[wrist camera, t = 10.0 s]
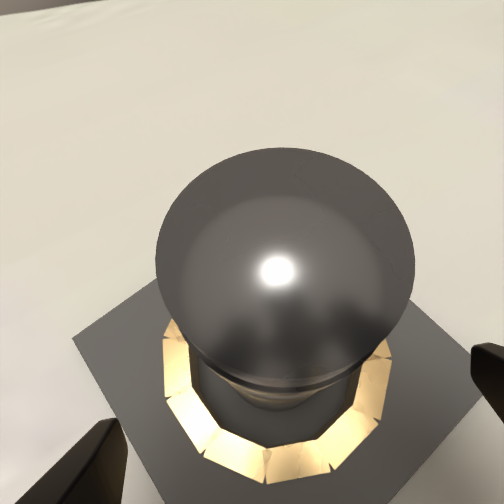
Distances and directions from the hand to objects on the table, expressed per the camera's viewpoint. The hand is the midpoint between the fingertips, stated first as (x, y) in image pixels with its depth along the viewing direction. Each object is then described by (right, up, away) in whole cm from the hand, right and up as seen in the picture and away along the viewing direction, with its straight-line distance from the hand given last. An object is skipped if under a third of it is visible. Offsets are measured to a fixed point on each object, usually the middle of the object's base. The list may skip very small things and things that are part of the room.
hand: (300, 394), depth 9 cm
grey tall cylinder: (0, -2, +10) cm, 10 cm away
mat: (0, -2, +10) cm, 11 cm away
